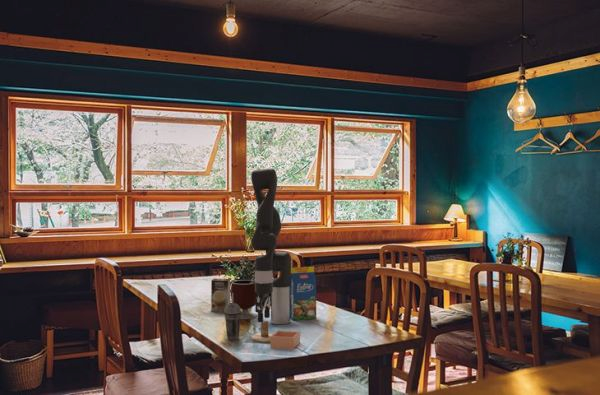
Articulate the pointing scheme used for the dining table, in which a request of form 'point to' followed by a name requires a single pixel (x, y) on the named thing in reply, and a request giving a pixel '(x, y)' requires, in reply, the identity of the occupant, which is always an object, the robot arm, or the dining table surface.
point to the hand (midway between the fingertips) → (263, 320)
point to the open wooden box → (285, 339)
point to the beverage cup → (232, 320)
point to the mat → (254, 341)
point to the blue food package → (302, 293)
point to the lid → (263, 333)
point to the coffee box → (220, 294)
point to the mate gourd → (244, 296)
